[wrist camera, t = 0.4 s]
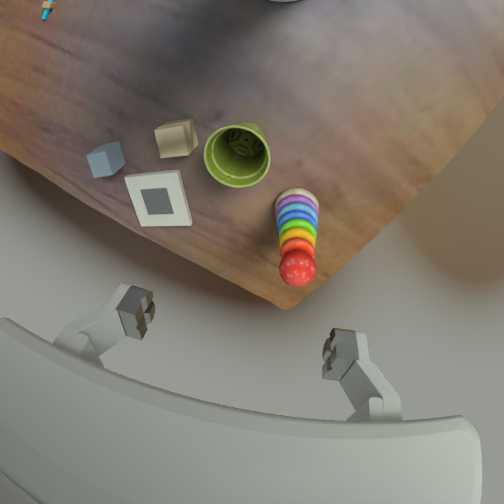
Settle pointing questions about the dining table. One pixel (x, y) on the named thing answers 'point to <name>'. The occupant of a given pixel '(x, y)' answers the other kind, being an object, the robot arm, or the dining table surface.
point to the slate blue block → (106, 159)
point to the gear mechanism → (47, 7)
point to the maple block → (176, 138)
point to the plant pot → (237, 155)
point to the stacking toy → (297, 235)
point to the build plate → (159, 198)
